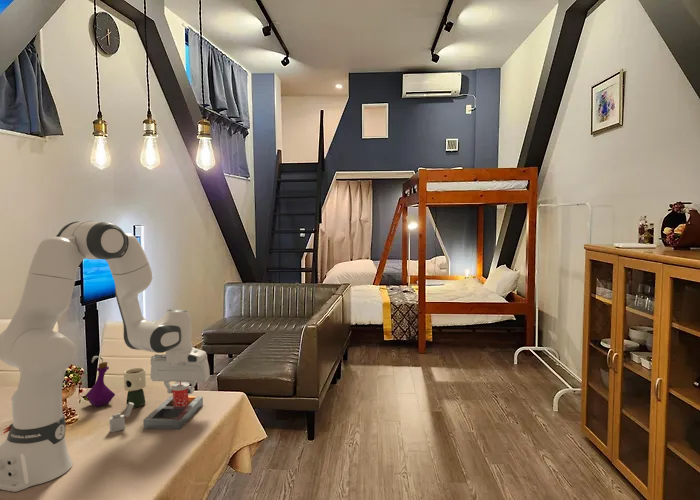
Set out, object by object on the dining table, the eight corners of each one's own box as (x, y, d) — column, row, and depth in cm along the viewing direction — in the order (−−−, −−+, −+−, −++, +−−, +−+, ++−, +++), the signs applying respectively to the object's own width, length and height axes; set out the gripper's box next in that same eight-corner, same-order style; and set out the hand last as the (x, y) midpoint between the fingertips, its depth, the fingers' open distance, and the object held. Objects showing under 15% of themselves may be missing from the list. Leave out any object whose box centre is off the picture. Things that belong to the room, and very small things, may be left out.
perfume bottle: (105, 398, 176) (103, 351, 175) (115, 403, 172) (113, 355, 171) (84, 405, 170) (82, 356, 169) (94, 409, 166) (92, 360, 165)
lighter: (111, 432, 148) (109, 408, 148) (109, 430, 150) (108, 406, 149) (135, 426, 153) (134, 402, 152) (133, 424, 154) (132, 400, 153)
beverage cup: (188, 413, 163) (187, 373, 162) (170, 414, 162) (168, 374, 161) (191, 405, 169) (190, 368, 168) (174, 407, 168) (172, 368, 167)
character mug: (120, 404, 171) (118, 369, 170) (140, 398, 176) (138, 365, 175) (131, 413, 163) (130, 376, 162) (152, 407, 168) (150, 371, 167)
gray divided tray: (143, 428, 151) (143, 419, 151) (170, 404, 171) (170, 396, 170) (179, 429, 150) (179, 420, 150) (202, 404, 170) (202, 396, 170)
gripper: (146, 357, 161) (147, 396, 162) (204, 357, 160) (205, 396, 161) (154, 351, 168) (156, 389, 169) (210, 352, 166) (211, 390, 167)
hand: (180, 392), depth 165 cm, fingers closed on beverage cup, 6 cm apart
